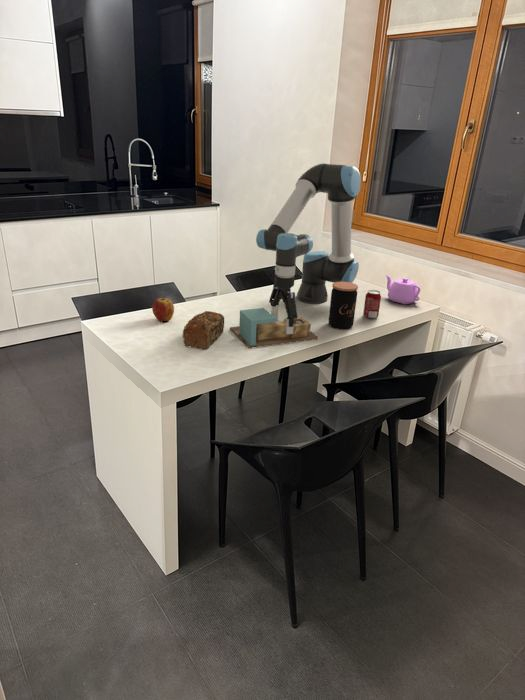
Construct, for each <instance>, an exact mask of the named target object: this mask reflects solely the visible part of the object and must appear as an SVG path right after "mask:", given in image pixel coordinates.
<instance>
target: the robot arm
mask: <svg viewBox="0 0 525 700" xmlns="http://www.w3.org/2000/svg"><path fill="white" fill-rule="evenodd" d="M361 186H362V176H361V174H360V171H359V169H358V168H357V167H356V166H353V165H352V166H351V165H349V164H334V163H333V164H331V163H318V164H316V165H314V166H312V167H310V168H309V169H307V170H306V171H305V172H304V173H302V175H301V176H300V177H299V178H298V179H297V181H296V183H295V188H294V190H293V191H292V192H291V194H290V196H289V197H288V199H287V200H286V202H285V204H284V205H283V207H282V208H281V209H280V210H279V212H278V214H277V215H276V217H275V218H274V219H273V221H272V222H271V224H270V225H269V227H268V229H260V230H259V231H258V232H257V234H256V239H255V243H256V245H257V247H258V248H260V249H261V250H262V249H263V250H266V251H273V252H275V266H274V270H275V271H274V283H273V286H272V291H271V294H270V296H269V300H268V302H269V304H270V306H271V312H270V314H272V315H273V316H274V317H276V322H279V321H278V320H279V308H280V306H279V305H280V304H279V303H280V302H281V301H282V303H283V304H284V307H285V310H286V316H287V317H286V318H285V319H287V322H286V334H293V325H294V319H296V318H298V310H297V303H296V298H297V300H298V301H300V302H303V303H308V304H322V303H325V302H327V301H328V299H329V298H328V297H329V294H328V291H327V286H326V283H327V282H329V283H332V284H333V283H335V282H350V283H354V281H355V280H356V278H357V275H358V272H359V267H360V266H359V265H360V264H359V262H358V261H357V260H355V254H354V253H352V252H351V251H352V250H351V249H352V209H353V204H352V202H354V200H355V199H356V196H358V194H359V193H360V190H361ZM319 193H324V194H327V201H329V202H330V205H331V206H330V208H331V253H330V254H329V252H328V251H325V250H322V251H321V250H319V251H318V250H317V251H315V250H314V251H312V249H313V246H314V241H313V238H312V237H311V236H309V234H306V233H305V234H304V233H301V234H299V235H298V234H295V233H289V231H290V230H291V229H292V227H293V226H294V224H295V222H296V221H297V219H298V218H299V216H300V215H301V213H302V212H303V211H304V209H305V207H306V206H307V205H308V203H309V201H310V200H311V199H312V198H314V197H316V195H317V194H319ZM301 256H303V260H302V269H301V270H302V272H301V273H302V274H301V283H300V286H299V288H298V291H297V293H295V291H293V292H292V290H291V289H292V288H293V287H294V285H295V275H296V261H297V258H298V257H301Z"/></svg>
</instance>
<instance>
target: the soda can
mask: <svg viewBox="0 0 525 700" xmlns="http://www.w3.org/2000/svg"><path fill="white" fill-rule="evenodd" d="M381 300H382V295H381V291H379V290H378V289H377V290H375V289H369V290H367V293H366V294H365V299H364V305H363V314H362V315H363V317H365V318H366V319H368V320H374V319H377V318H379V313H380V306H381Z"/></svg>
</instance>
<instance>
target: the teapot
mask: <svg viewBox="0 0 525 700" xmlns="http://www.w3.org/2000/svg"><path fill="white" fill-rule="evenodd" d="M385 276H386V280H387V283H386V289H387V291H388V292H387V297H388V299H389V300H390V301H391V302H394V303H395V302H396V303H400V304H402V305H408V304H409V305H410V304H413V303H415V302H419V301H420V297H419V295H420V294H421V287H420V286H419V285H418V284H416V282H415V281H412V280H409V278H407V277H402V278H399V279H395V280H394V281H393V283H392V278H391V276H390V275H388V274H385Z"/></svg>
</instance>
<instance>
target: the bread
mask: <svg viewBox="0 0 525 700" xmlns="http://www.w3.org/2000/svg"><path fill="white" fill-rule="evenodd" d="M187 321H188V322H187V323H186V324H185V325H184V326H183V329H182V338H183V344H184V346H186V347H188V346H191V347H190V348H193V347H196V349H199V348H202V349H201V350H208V349H209V348H210V347H211V346H212V345H213V344H215V342H216V341H217V340H219V338H220V337H221V335H222V334H223V333H224V328H225V316H224V315H223V314H221V313H220V312H219V313H218V312H216V311H215V312H214V311H208V310H206V311H203V312H200V313H198V314H196V315H194V316H193V317H192V318H191V319H189V320H187Z"/></svg>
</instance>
